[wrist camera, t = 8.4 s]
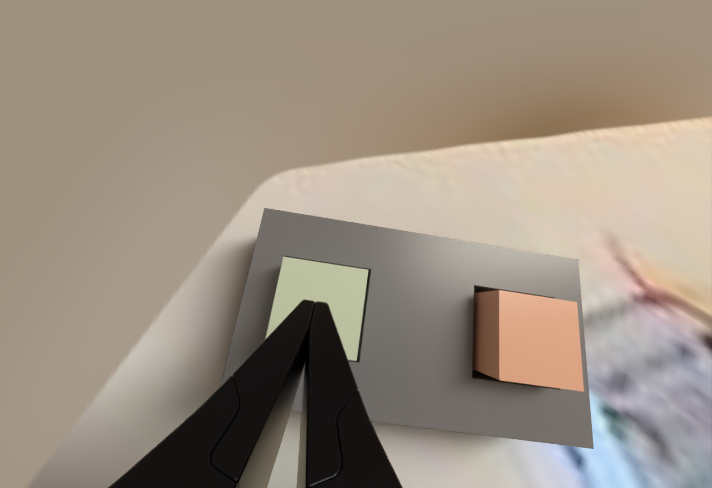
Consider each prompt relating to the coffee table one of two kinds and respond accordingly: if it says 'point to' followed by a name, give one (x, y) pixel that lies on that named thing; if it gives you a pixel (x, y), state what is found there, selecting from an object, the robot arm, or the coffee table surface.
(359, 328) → the sage key
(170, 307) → the coffee table surface
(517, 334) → the terracotta key
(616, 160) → the coffee table surface
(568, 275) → the keypad
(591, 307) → the coffee table surface
